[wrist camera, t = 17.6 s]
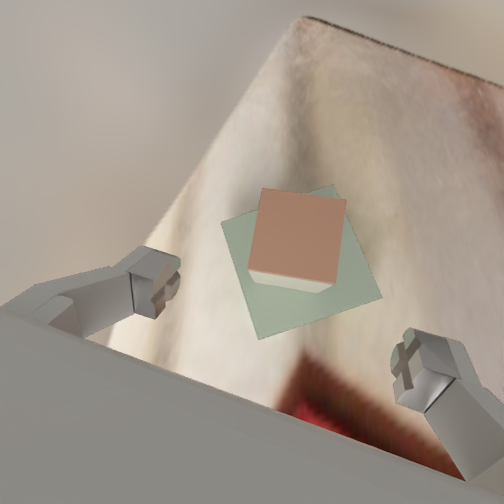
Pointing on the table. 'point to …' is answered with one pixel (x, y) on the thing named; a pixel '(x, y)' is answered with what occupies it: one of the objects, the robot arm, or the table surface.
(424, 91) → the table surface
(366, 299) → the green box
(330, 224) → the white brown-topped block
